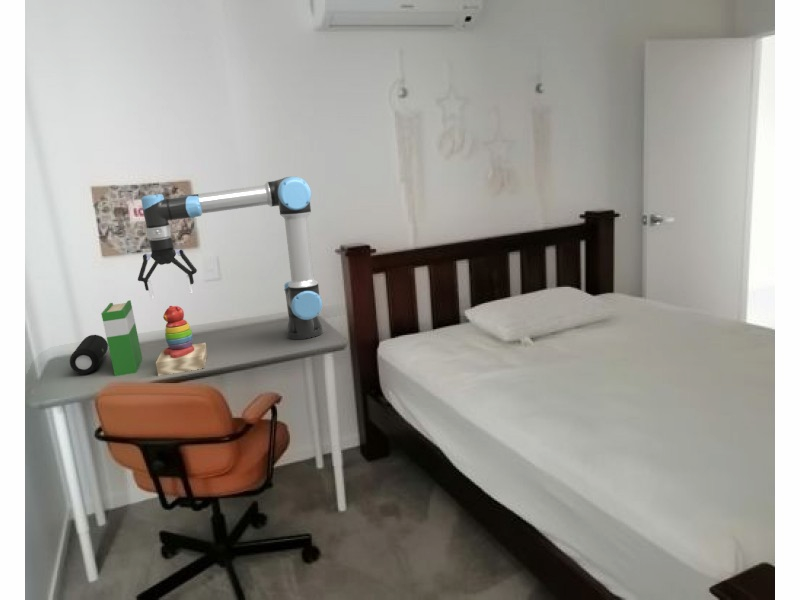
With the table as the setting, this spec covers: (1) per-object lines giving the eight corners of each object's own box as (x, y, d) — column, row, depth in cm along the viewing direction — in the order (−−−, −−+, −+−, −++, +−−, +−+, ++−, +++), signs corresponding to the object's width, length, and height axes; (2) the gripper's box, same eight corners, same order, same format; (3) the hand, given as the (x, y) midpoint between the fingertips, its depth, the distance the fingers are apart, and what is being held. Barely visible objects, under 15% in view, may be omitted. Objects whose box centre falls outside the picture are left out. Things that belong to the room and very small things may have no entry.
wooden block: (207, 354, 236) (205, 342, 234) (204, 368, 219) (201, 355, 218) (164, 361, 232) (162, 349, 231) (158, 375, 216) (155, 362, 215)
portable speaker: (100, 373, 225) (94, 348, 223) (71, 378, 223) (65, 353, 220) (111, 354, 249) (106, 331, 247) (85, 358, 247) (79, 335, 244)
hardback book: (122, 361, 237) (110, 303, 231) (142, 358, 239) (130, 300, 233) (114, 376, 220) (101, 313, 215) (136, 372, 222) (123, 310, 217)
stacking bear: (162, 353, 226) (153, 307, 221) (188, 346, 232) (180, 301, 228) (173, 359, 218) (164, 311, 213) (199, 351, 224) (191, 305, 220)
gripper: (121, 244, 208) (134, 303, 214) (195, 234, 213) (206, 292, 219) (125, 241, 216) (137, 298, 221) (197, 232, 221) (207, 288, 226)
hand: (172, 295), depth 220 cm, fingers open, 13 cm apart
